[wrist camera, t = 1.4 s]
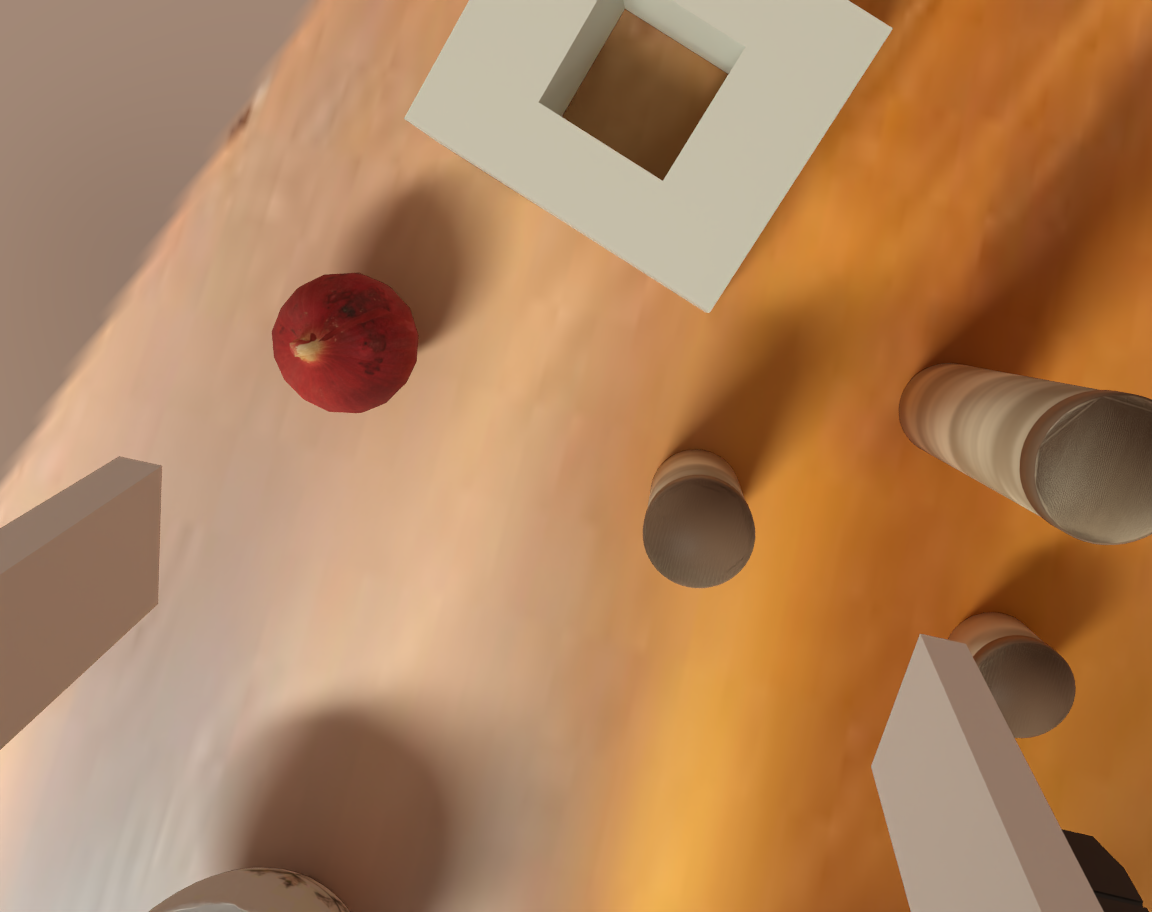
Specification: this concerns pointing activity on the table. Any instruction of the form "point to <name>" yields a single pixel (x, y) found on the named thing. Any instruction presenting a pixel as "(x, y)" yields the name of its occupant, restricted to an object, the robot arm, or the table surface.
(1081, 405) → the long dowel
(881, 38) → the hole block
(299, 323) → the onion
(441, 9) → the table surface
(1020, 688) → the short dowel
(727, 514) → the medium dowel
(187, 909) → the teacup
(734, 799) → the table surface
